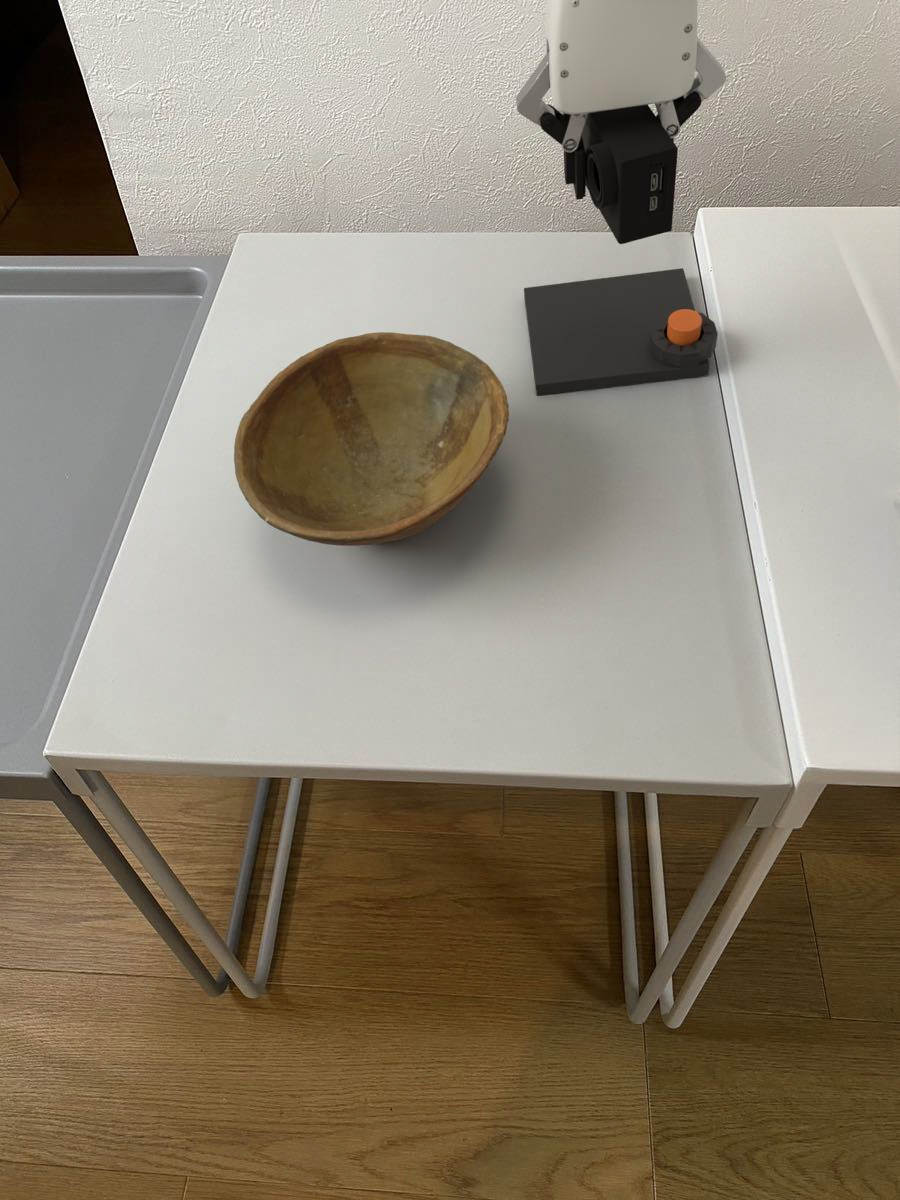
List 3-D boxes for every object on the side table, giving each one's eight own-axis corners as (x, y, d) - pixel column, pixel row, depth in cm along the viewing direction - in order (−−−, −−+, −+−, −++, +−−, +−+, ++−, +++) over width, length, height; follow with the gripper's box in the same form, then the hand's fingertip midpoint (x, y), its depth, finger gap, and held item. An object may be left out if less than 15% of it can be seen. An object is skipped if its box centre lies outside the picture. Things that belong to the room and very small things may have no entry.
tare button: (696, 322, 87) (698, 307, 85) (702, 343, 85) (704, 328, 84) (664, 325, 87) (665, 310, 86) (669, 347, 85) (671, 332, 84)
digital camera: (564, 176, 78) (561, 93, 72) (626, 160, 78) (628, 75, 72) (604, 249, 72) (604, 165, 66) (671, 231, 72) (678, 146, 66)
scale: (691, 278, 94) (694, 252, 92) (718, 374, 86) (722, 350, 84) (524, 298, 95) (522, 274, 93) (536, 395, 88) (535, 372, 85)
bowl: (564, 529, 79) (562, 449, 71) (320, 651, 75) (288, 582, 67) (447, 378, 90) (433, 294, 82) (231, 476, 87) (194, 399, 79)
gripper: (750, -128, 60) (717, 142, 75) (484, -85, 61) (505, 171, 76) (777, -77, 56) (737, 197, 71) (492, -33, 57) (512, 227, 72)
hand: (616, 181), depth 73 cm, fingers closed on digital camera, 5 cm apart
